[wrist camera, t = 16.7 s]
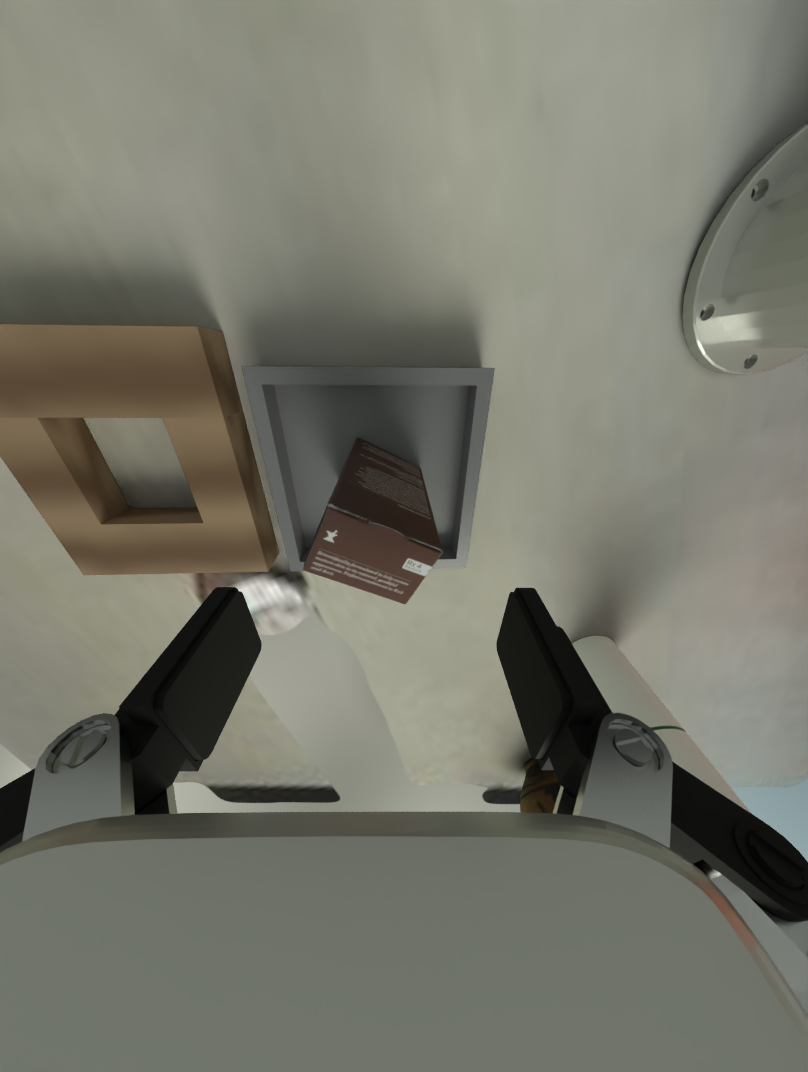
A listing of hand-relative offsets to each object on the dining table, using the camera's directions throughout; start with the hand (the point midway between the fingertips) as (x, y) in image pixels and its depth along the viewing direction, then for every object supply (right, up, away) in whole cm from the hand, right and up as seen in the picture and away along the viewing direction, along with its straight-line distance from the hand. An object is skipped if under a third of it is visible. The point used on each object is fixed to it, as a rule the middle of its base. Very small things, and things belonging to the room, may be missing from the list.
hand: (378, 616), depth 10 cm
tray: (-1, +8, +15) cm, 17 cm away
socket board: (-19, +9, +13) cm, 25 cm away
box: (-1, +8, +14) cm, 16 cm away
